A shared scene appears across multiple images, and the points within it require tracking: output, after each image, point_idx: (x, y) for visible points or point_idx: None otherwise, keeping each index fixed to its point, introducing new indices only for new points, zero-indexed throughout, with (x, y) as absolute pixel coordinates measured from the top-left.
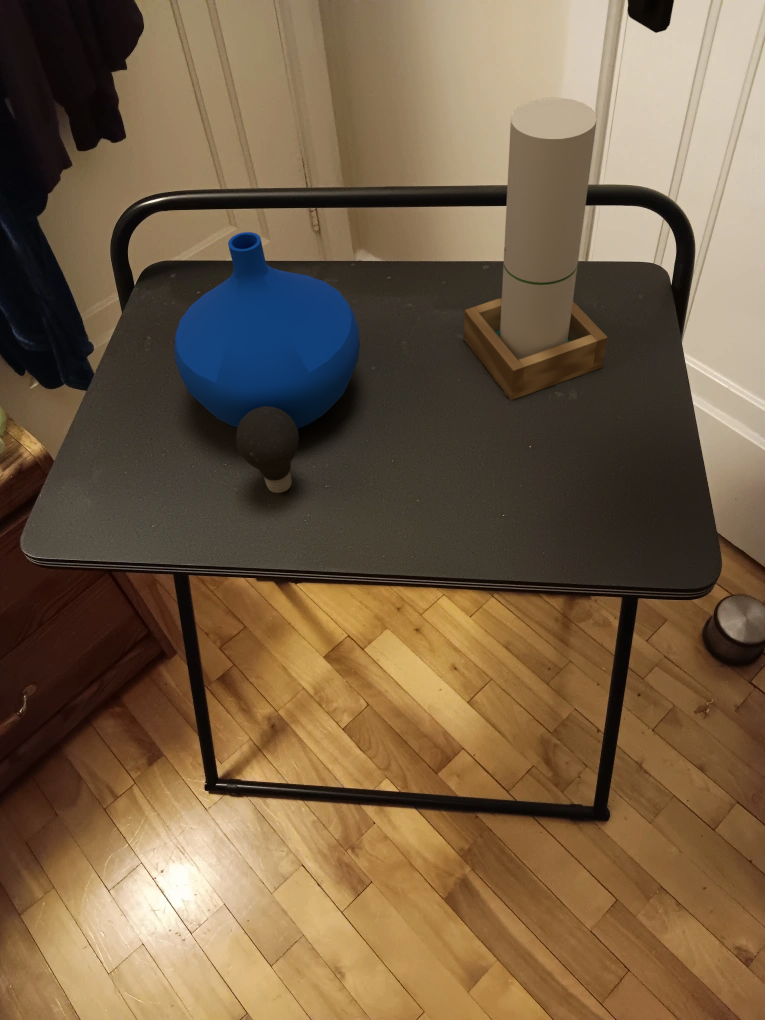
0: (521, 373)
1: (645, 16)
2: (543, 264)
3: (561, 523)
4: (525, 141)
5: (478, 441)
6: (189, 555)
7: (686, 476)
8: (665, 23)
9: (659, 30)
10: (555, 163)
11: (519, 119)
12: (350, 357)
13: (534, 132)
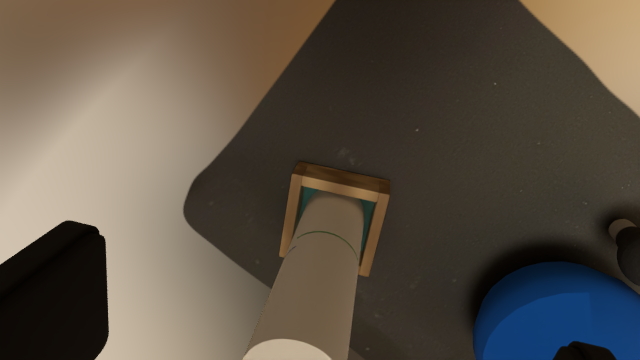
0: (381, 190)
1: None
2: (342, 252)
3: (462, 44)
4: None
5: (447, 162)
6: None
7: (335, 16)
8: (597, 355)
9: (606, 348)
10: (325, 327)
11: None
12: (526, 287)
13: None
